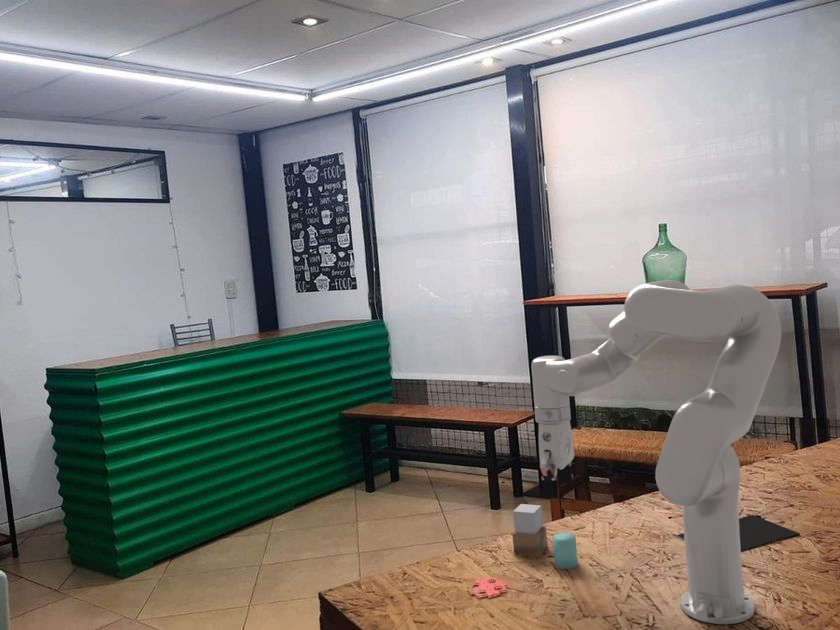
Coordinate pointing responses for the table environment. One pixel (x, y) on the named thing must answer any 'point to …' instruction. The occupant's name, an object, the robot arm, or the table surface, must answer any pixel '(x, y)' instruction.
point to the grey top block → (528, 519)
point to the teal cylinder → (565, 550)
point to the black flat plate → (758, 532)
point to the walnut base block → (530, 543)
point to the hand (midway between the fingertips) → (558, 490)
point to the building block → (489, 586)
